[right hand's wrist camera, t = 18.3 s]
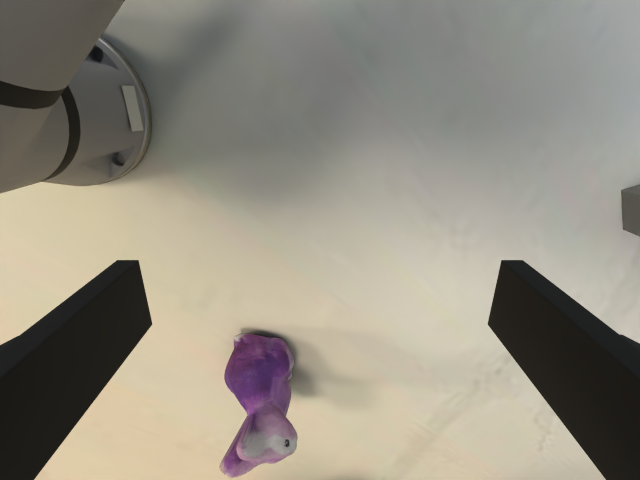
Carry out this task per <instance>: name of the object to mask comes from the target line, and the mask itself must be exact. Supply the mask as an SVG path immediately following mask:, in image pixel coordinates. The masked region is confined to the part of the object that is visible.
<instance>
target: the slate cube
mask: <svg viewBox="0 0 640 480" xmlns="http://www.w3.org/2000/svg"><path fill="white" fill-rule="evenodd" d="M622 215H623V230H626V231H628V232H630V233H633V234H635V235H638V236H640V185H637V186H634V187H631V188H628V189H625V190H622Z"/></svg>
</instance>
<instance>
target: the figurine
mask: <svg viewBox="0 0 640 480" xmlns="http://www.w3.org/2000/svg"><path fill="white" fill-rule="evenodd" d="M293 366H294V359H293V356H292V353H291V352H290V349H289V348H288V346H287V344H286V342H285V341H284V340H282V339H281V338H276V337H272V338H270V337H265V336H260V335H253V334H248V333H245V334H239V335H237V336H235V338H234V351H233V353H232V355H231V357H230V359H229V361H228V364H227V367H226V370H225V382H226V384H227V386H228V388H229V389H230V391H231V392H232V393H234V394H235V396H236V398H237V399H238V401H239V402H240V404H241V405H242V406H243V408H244V409H245V410H246V412H247V414H248V416H247V417H246V419H245V421H244V423H243V424H242V426H241V428H240V430H239V432H238V433H237V435H236V437H235V439H234V440H233V442H232V444H231V446H230V447H229V449H228V451H227V453H226V455H225V456H224V458H223V460H222V462H221V464H220V470H221V471H222V472H223V473H224V474H225V475H227V476H228V477H238V476H241V475H243V474H245V473H247V472H249V471H250V470H251V469H253V468H254V467H255V466H257V465H259V464H262V463H271V464H273V463H276V462H278V461H280V460H282V459H284V458H286V457H287V456H289V455H291V454H292V453H294V451H295V450H296V446H297V433H296V431H295V429H294V427H293V426H292V424H291V423H290V421H289V420H288V419H287V418H286V414H287V411H288V407H289V403H290V399H291V387H290V384H289V380H290V379H291V378H292V368H293Z"/></svg>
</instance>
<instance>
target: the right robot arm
mask: <svg viewBox="0 0 640 480" xmlns="http://www.w3.org/2000/svg"><path fill="white" fill-rule="evenodd" d="M124 1H125V0H0V193H3V192H7V191H10V190H14V189H17V188H21V187H24V186H28V185H32V184H35V183H38V182H48V183H56V184H64V185H72V186H90V185H98V184H103V183H106V182H109V181H112V180H115V179H117V178H120V177H122V176H123V175H125V174H127V173H128V172H130V171H131V170H132V169H133V168H134V167H135V166H136V165H137V164H138V163H139V161H140V160H141V159H142V157H143V155H144V153H145V152H146V149H147V147H148V143H149V140H150V135H151V111H150V106H149V101H148V98H147V95H146V92H145V89H144V87H143V85H142V83H141V81H140V79H139V77H138V75H137V74H136V72H135V70H134V69H133V67H132V66H131V65H130V63H129V62H128V61H127V60H126V59H125V57H124V56H123V55H122V54H121V53H120V52H119V51H118V50H117V49H116V48H115V47H113V46H112V45H111V44H110V43H109V42H107V41H106V40H104V39H103V38H101V37H100V36H101V35H102V33H103V32H104V30H105V29H106V27H107V26H108V24H109V23H110V22H111V20H112V19H113V17H114V16H115V14H116V13H117V11H118V10H119V8H120V7H121V5H122V4H123V2H124ZM151 325H152V321H151V316H150V312H149V307H148V302H147V298H146V293H145V288H144V284H143V279H142V275H141V270H140V265H139V261H138V260H117V261H116V262H114V263H113V264H112V265H111V266H109V267H108V268H107V269H105V270H104V271H103V272H101V273H100V274H99V275H98V276H96V277H95V278H94V279H92V280H91V281H90V282H88V283H87V284H86V285H85V286H83V287H82V288H81V289H79V290H78V291H77V292H75V293H74V294H73V295H72V296H70V297H69V298H68V299H66V300H65V301H64V302H63V303H61V304H60V305H59V306H57V307H56V308H55V309H53V310H52V311H51V312H50V313H48V314H47V315H46V316H44V317H43V318H42V319H40V320H39V321H38V322H37V323H35V324H34V325H33V326H31V327H30V328H29V329H27V330H26V331H25V332H24V333H22V334H21V335H20V336H17V337H15V338H13V339H11V340H10V341H8V342H6V343H4V344H2V345H0V480H34V479H35V478H36V476H37V475H38V474H39V472H40V471H41V470H42V468H43V467H44V466H45V464H46V463H47V462H48V460H49V459H50V458H51V457H52V455H53V454H54V453H55V451H56V450H57V449H58V447H59V446H60V445H61V443H62V442H63V441H64V439H65V438H66V437H67V436H68V434H69V433H70V432H71V430H72V429H73V428H74V426H75V425H76V424H77V422H78V421H79V420H80V418H81V417H82V416H83V415H84V413H85V412H86V411H87V409H88V408H89V407H90V405H91V404H92V403H93V401H94V400H95V399H96V397H97V396H98V395H99V394H100V392H101V391H102V390H103V388H104V387H105V386H106V384H107V383H108V382H109V380H110V379H111V378H112V376H113V375H114V374H115V372H116V371H117V370H118V369H119V367H120V366H121V365H122V363H123V362H124V361H125V359H126V358H127V357H128V355H129V354H130V353H131V351H132V350H133V349H134V348H135V346H136V345H137V344H138V342H139V341H140V340H141V338H142V337H143V336H144V334H145V333H146V332H147V330H148V329H149V328H150V327H151ZM488 325H489V327H490V328H491V329H492V330H493V332H494V333H495V334H496V336H497V337H498V338H499V340H500V341H501V342H502V344H503V345H504V346H505V348H506V349H507V350H508V351H509V353H510V354H511V355H512V357H513V358H514V359H515V361H516V362H517V363H518V365H519V366H520V367H521V369H522V370H523V371H524V372H525V374H526V375H527V376H528V378H529V379H530V380H531V382H532V383H533V384H534V386H535V387H536V388H537V390H538V391H539V392H540V394H541V395H542V396H543V397H544V399H545V400H546V401H547V403H548V404H549V405H550V407H551V408H552V409H553V411H554V412H555V413H556V415H557V416H558V417H559V418H560V420H561V421H562V422H563V424H564V425H565V426H566V428H567V429H568V430H569V432H570V433H571V434H572V436H573V437H574V438H575V439H576V441H577V442H578V443H579V445H580V446H581V447H582V449H583V450H584V451H585V453H586V454H587V455H588V457H589V458H590V459H591V460H592V462H593V463H594V464H595V466H596V467H597V468H598V470H599V471H600V472H601V474H602V475H603V476H604V478H605V479H606V480H640V344H639V343H637V342H635V341H633V340H631V339H629V338H628V337H626V336H624V335H619V334H618V333H616V332H615V331H614V330H613V329H611V328H610V327H609V326H607V325H606V324H605V323H603V322H602V321H601V320H600V319H598V318H597V317H596V316H594V315H593V314H592V313H590V312H589V311H588V310H587V309H585V308H584V307H583V306H581V305H580V304H579V303H577V302H576V301H575V300H574V299H572V298H571V297H570V296H568V295H567V294H566V293H565V292H563V291H562V290H561V289H559V288H558V287H557V286H555V285H554V284H553V283H552V282H550V281H549V280H548V279H546V278H545V277H544V276H542V275H541V274H540V273H539V272H537V271H536V270H535V269H533V268H532V267H531V266H529V265H528V264H527V263H526V262H524V261H523V260H502V261H501V265H500V270H499V275H498V279H497V284H496V288H495V293H494V298H493V302H492V307H491V312H490V316H489V321H488Z"/></svg>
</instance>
